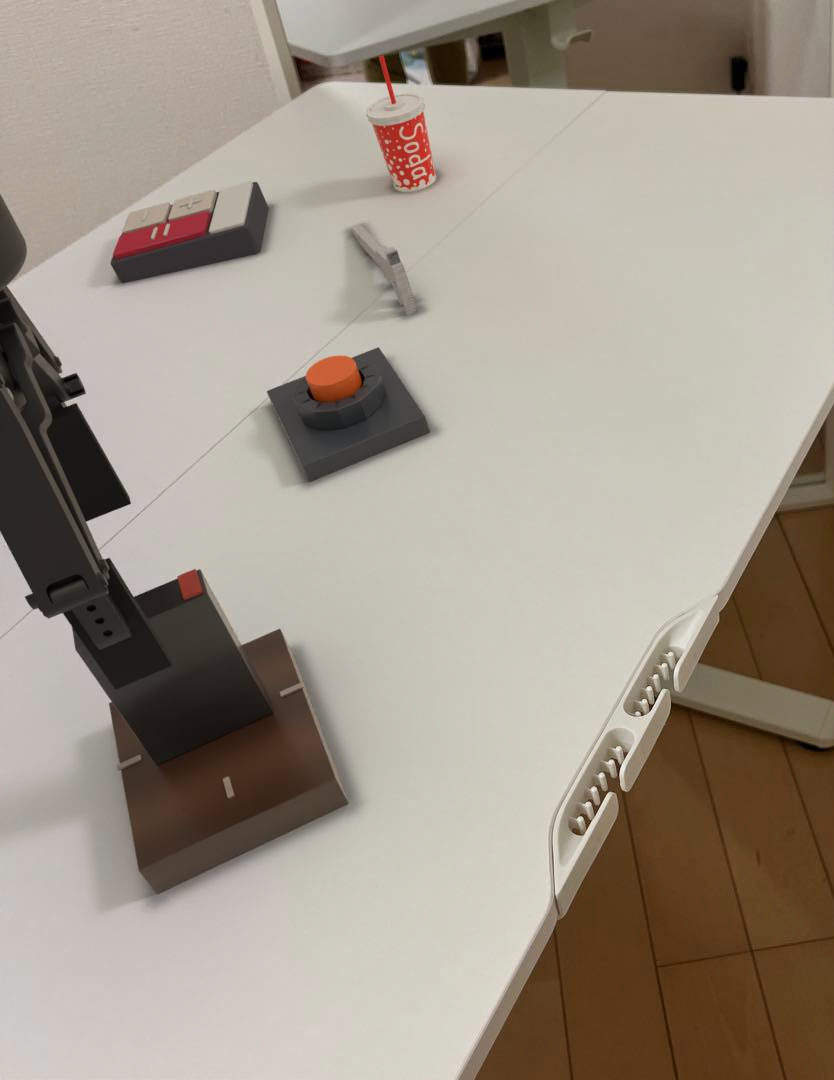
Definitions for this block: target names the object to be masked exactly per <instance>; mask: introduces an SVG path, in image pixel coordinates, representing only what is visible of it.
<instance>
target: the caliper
mask: <svg viewBox="0 0 834 1080" xmlns="http://www.w3.org/2000/svg"><path fill="white" fill-rule="evenodd" d="M351 232H352V234H353V236H354V237H355V239H356V240H357V242H358V244H360V247H361V248H362V249H363V250H364V252H365V253H367V255H368V256H369V257H370V258H372V260H373V261H374V262H375V263H376V264H377V265H378V267H380V268H381V270H382V273H383V276H384V278H386V279H387V281H390V282H391V284H392V288H393V290H394V292H395V295H396V297H397V300H398V302H399V305H400V307H402V308H404V309H403V310H404V312H405V314H406V315H407V316H411V315H413V314H416V313H418V308H417V304H416V301H415V298H414V294H413V291H412V288H411V284H410V281H409V278H408V275H407V272H406V270H405V267H404V264H403V262H402V261H401V258H400V255H399V252H398V250H397V248H395V246H391V247H389V248H388V247H387V246H383V245H382V244H381V243H380V242H379V241H378V240H377V239H376V238H375V237H374V236H373V235H372V234H371V233H370V232H369V231H368V230H367V229H366V228H365V227H364V226H362V224H358V225H355V226H353V227H351Z"/></svg>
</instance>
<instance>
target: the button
mask: <svg viewBox="0 0 834 1080" xmlns="http://www.w3.org/2000/svg"><path fill="white" fill-rule="evenodd" d="M305 376H306V380H307V383H308V385H309V388H310V390H311V393H312V396H313V398H314V399H315V400H316V401H318V402H321V403H323V402H334V401H339V400H341V399H344V398H346V397H349V396H351V395H352V394H353V393H355V392H356V391H357V390H358V389H359V388H360V387H361V385H362V380H361V377H360V374H359V371H358V368H357V366H356V363H355V361H354V360H353V359H352V357H350V356H348V355H332V356H328V357H325V358H322V359H319V360H318V361H317V362H314V364H312V365H311V366H310V367H309V368H308V370H307V371H306V373H305Z"/></svg>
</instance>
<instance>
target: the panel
mask: <svg viewBox="0 0 834 1080" xmlns="http://www.w3.org/2000/svg"><path fill="white" fill-rule="evenodd" d="M241 645H242V646H243V648H244V650H245V652H246V654H247V656H248V657H249V659H250V661H251V663H252V665H253V667H254V668H255V670H256V672H257V674H258V676H259V678H260V679H261V681H262V683H263V685H264V687H265V689H266V692H267V695H268V698H269V701H270V704H271V707H272V710H273V713H272V714H270V715H267V716H265V717H263V718H261V719H259V720H256V721H254V722H252V723H250V724H247V725H245V726H243V727H241V728H239V729H236V730H234V731H232V732H230V733H227V734H225V735H223V736H221V737H219V738H216V739H214V740H212V741H210V742H207V743H205V744H203V745H201V746H199V747H196V748H194V749H192V750H190V751H187V752H185V753H183V754H181V755H179V756H176V757H174V758H172V759H170V760H167V761H165V762H163V763H161V764H159V765H156V764H155V763H154V761H153V760H152V758H151V757H150V755H149V754H148V753H147V751H146V750H145V748H144V747H143V746H142V744H141V743H140V741H139V740H138V738H137V737H136V736H135V734H134V733H133V731H132V730H131V728H130V727H129V726H128V724H127V723H126V721H125V720H124V718H123V717H122V716H121V714H120V713H119V711H118V710H117V708H116V707H115V706H114V704H113V703H112V701H110V702H108V706H109V713H110V718H111V722H112V724H111V725H112V729H113V734H114V741H115V745H116V751H117V757H118V762H119V763H118V764H116V768H117V771H119V772H120V775H121V780H122V786H123V790H124V796H125V802H126V807H127V813H128V819H129V824H130V829H131V835H132V841H133V847H134V852H135V858H136V863H137V868H138V872H139V873H140V875H141V876H142V877H143V878H144V880H145V881H146V882H147V883H148V884H149V886H150V887H151V888H152V890H154V892H155V894H157V895H159V894H162V893H164V892H166V891H168V890H170V889H172V888H175V887H176V886H179V885H181V884H183V883H185V882H187V881H189V880H191V879H193V878H195V877H198V876H200V875H202V874H204V873H206V872H208V871H211V870H213V869H214V868H217V867H219V866H221V865H223V864H225V863H227V862H229V861H231V860H234V859H236V858H237V857H240V856H242V855H244V854H246V853H249V852H250V851H252V850H255V849H257V848H259V847H262V846H263V845H265V844H267V843H270V842H271V841H274V840H276V839H278V838H281V837H282V836H285V835H287V834H289V833H290V832H293V831H294V830H296V829H299V828H301V827H303V826H306V825H307V824H309V823H312V822H314V821H316V820H318V819H320V818H322V817H324V816H326V815H328V814H331V813H333V812H335V811H338V810H339V809H341V808H344V807H345V806H348V805H349V803H350V802H349V799H348V797H347V794H346V792H345V789H344V786H343V784H342V781H341V778H340V776H339V773H338V769H337V767H336V765H335V763H334V760H333V757H332V754H331V751H330V749H329V745H328V744H327V741H326V737H325V735H324V733H323V730H322V727H321V725H320V722H319V719H318V717H317V714H316V711H315V709H314V706H313V703H312V700H311V698H310V695H309V692H308V690H307V688H306V685H305V682H304V679H303V677H302V673H301V672H300V668H299V666H298V662H297V661H296V658H295V655H294V653H293V651H292V649H291V647H290V645H289V643H288V641H287V639H286V637H285V635H284V633H283V631H282V629H281V628H278V629H275V630H273V631H271V632H268V633H266V634H264V635H261V636H260V637H257V638H255V639H252V640H250V641H247V642H246V643H243V644H241Z"/></svg>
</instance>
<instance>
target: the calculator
mask: <svg viewBox="0 0 834 1080" xmlns="http://www.w3.org/2000/svg"><path fill="white" fill-rule="evenodd" d="M269 210H270V208H269V205H268V203H267V201H266V198H265V196H264V194H263V191H262V189H261V186H260V185H259V182H257V181H246V182H241V183H238V184H235V185H232V186H227V187H224V188H222V189H219V191H216V189H210V190H207V191H202V192H199V193H196V194H191V195H188V196H185V197H181V198H177V199H175V200H174V201H173V203H172V204H171V203H170V202H169V201H167V202H164V203H159V204H156V205H153V206H148V207H145V208H142V209H141V208H140V209H138V210H135V211H131V212H129V213H128V215H127V216H126V219H125V223H124V225H123V227H122V229H121V235H119V237H118V240H117V242H116V245H115V247H114V250H113V252H112V257H111V260H110V262H109V263H110V266H111V268H112V269H113V271H114V273H115V275H116V277H117V279H118V280H119V282H120V283H121V284H126V283H131V282H136V281H140V280H144V279H145V280H146V279H149V278H155V277H158V276H164V275H168V274H173V273H177V272H181V271H187V270H190V269H191V270H192V269H196V268H200V267H205V266H209V265H213V264H220V263H223V262H228V261H232V260H237V259H242V258H246V257H250V256H255V255H258V254H261V251H262V247H263V243H264V236H265V231H266V225H267V221H268V215H269Z"/></svg>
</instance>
